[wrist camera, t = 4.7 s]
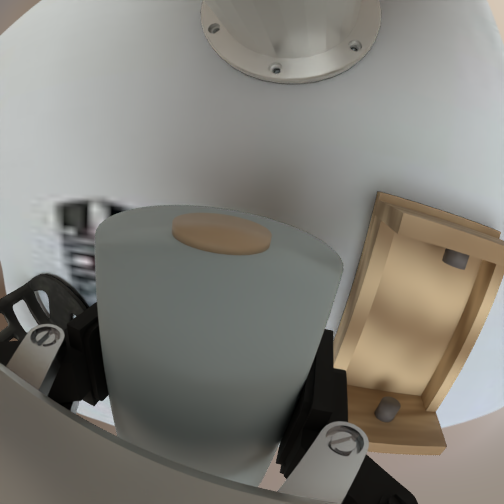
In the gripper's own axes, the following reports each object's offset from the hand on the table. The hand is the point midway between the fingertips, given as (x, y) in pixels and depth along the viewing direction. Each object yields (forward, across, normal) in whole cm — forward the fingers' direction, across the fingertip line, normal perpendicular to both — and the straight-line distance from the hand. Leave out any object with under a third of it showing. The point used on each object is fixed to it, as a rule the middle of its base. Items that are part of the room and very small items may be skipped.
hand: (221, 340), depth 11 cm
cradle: (+11, -11, +2) cm, 16 cm away
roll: (+1, 0, 0) cm, 1 cm away
